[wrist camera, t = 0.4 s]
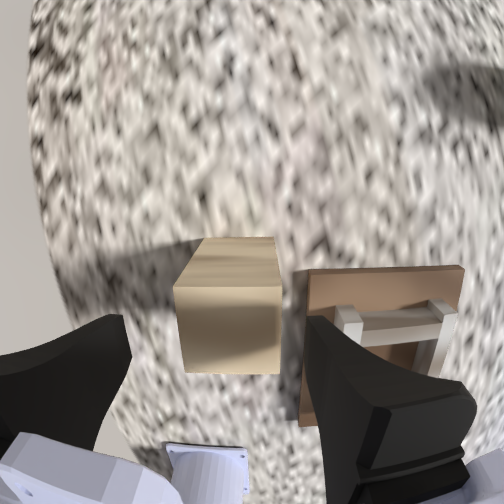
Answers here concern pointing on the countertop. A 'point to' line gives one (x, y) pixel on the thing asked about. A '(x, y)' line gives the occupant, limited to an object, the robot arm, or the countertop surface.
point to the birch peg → (230, 307)
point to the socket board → (387, 315)
